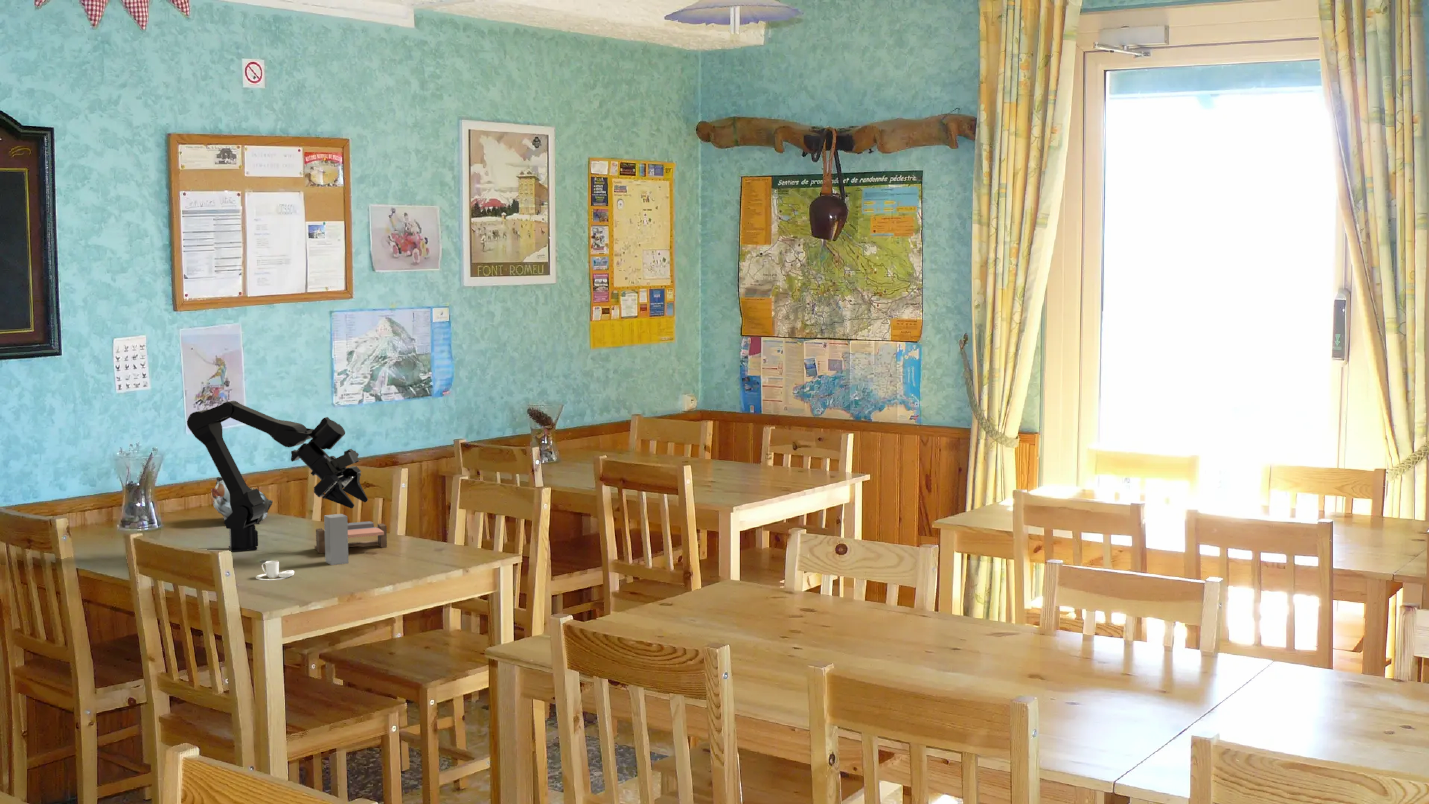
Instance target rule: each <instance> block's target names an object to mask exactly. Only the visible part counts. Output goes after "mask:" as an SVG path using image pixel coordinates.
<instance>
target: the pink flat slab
mask: <svg viewBox="0 0 1429 804" xmlns="http://www.w3.org/2000/svg"><path fill="white" fill-rule="evenodd" d="M378 535H384V532H383V531H382V530H381V529H379V528H378V526H375V523H374V522H373V521H369V520H368V521H358V522H357V521H356V522H348V539H352V538H362V537H374V536H377V537H378Z"/></svg>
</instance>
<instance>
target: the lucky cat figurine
mask: <svg viewBox="0 0 1429 804" xmlns="http://www.w3.org/2000/svg"><path fill="white" fill-rule="evenodd" d="M215 480H216V482H215V487H214V488H211V489H210V492H211V494H210V499H211V502H212V503H213V504H212V505H213V507H214V509H215V510H216V512H217V513H218V514H221V515H222V516H223V517H222V518H223V521H225V520H226V519H227V518H228V517H229V516H230V514H231V513H232V509H231V506H230V494H229V491H228V489H227V487H226V485H225V483H224V481H223V479H222V477H219V476H218V477H216V478H215ZM249 488H250V489H252V490H254V489H255V488H254V487H252V486H251V487H249ZM259 492H260V495H261V497H262V499H263V500H264V501H265V502H263V504H264V506H265V509H264V512H263V514H262V516H261V517H260V518H259V521H258V523H257V524H256V525H258V524H260V523H261V522H262V521H263V520H265V519H266V518H267V517H268V512H269V510H270V508H271V507H272V505H273V503H274V502H273V500H271V499H268V498H267V497H266V495H265V494H264V493H263V492H261V491H260V490H259Z"/></svg>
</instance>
